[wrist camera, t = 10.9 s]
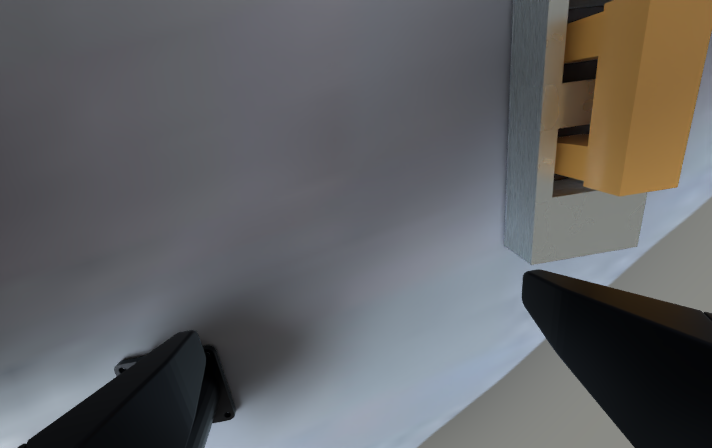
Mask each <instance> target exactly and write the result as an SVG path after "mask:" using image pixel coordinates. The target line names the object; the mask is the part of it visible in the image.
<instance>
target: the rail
mask: <svg viewBox="0 0 712 448" xmlns="http://www.w3.org/2000/svg"><path fill="white" fill-rule="evenodd" d="M610 1H613V0H513V10H512V38H511V66H510V94H509V122H508V149H507V177H506V205H505V233H504V246H505V247H506V248H508V249H509V250H511V251H512V252H513V253H515V254H516V255H518V256H519V257H520V258H522V259H523V260H525V261H526V262H528V263H529V264H530V265H534V264H540V263H546V262H551V261H557V260H563V259H569V258H574V257H580V256H586V255H592V254H597V253H603V252H609V251H615V250H620V249H626V248H632V247H637V245H638V240H639V234H640V229H641V224H642V218H643V213H644V208H645V202H646V197H647V192H645V193H639V194H632V195H626V196H620V197H619V196H615V195H612V194H608V193H605V192H601V191H598V190H594V189H590V188H587V187H583V183H584V181H582V180H578V179H574V178H571V179H565V180H558V181H554V170H555V159H556V147H557V135H558V129H559V128H566V127H573V126H580V125H587V124H590V123H591V115H592V106H593V98H594V89H595V81H596V79H588V80H580V81H573V82H565V83H562V77H563V66H564V54H565V42H566V31H567V19H568V9H575V8H584V7H593V6H602V5H604V4H605V3H608V2H610Z"/></svg>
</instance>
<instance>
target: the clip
mask: <svg viewBox="0 0 712 448" xmlns="http://www.w3.org/2000/svg"><path fill="white" fill-rule="evenodd" d="M711 31H712V0H613V1H610V2H608V3H605V4H604V11H603V12H600V13H597V14H594V15H592V16H589V17H586V18H583V19H580V20H577V21H574V22H571V23H568V24H567V31H566V42H565V54H564V64H567V63H575V62H583V61H591V60H596V59H598V64H597V72H596V81H595V89H594V98H593V106H592V115H591V123H590V132H589V134H576V135H569V136H562V137H557V147H556V159H555V170H554V173H555V174H559V175H563V176H566V177H570V178H574V179H578V180H582V181H584V183H583V187H587V188H590V189H594V190H598V191H601V192H605V193H608V194H612V195H615V196H619V197H620V196H626V195H632V194H639V193H645V192H651V191H657V190H663V189H670V188H676V187H678V183H679V178H680V173H681V169H682V164H683V160H684V155H685V150H686V146H687V141H688V137H689V132H690V128H691V123H692V118H693V114H694V109H695V105H696V100H697V95H698V91H699V86H700V82H701V77H702V73H703V68H704V63H705V59H706V54H707V50H708V45H709V41H710V36H711Z"/></svg>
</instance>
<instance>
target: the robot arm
mask: <svg viewBox="0 0 712 448" xmlns="http://www.w3.org/2000/svg"><path fill="white" fill-rule="evenodd" d="M522 301H523V304H524V306H525V308H526V309H527V311H528V312H529V314H530V315H531V317H532V318H533V320H534V321H535V323H536V324H537V326H538V327H539V328H540V330H541V331H542V333H543V334H544V336H545V337H546V339H547V340H548V342H549V343H550V345H551V346H552V347H553V349H554V350H555V351H556V353H557V354H558V355H559V357H560V358H561V359H562V360H563V362H564V363H565V364H566V365H567V366H568V368H569V369H570V370H571V371H572V373H573V374H574V375H575V376H576V377H577V379H578V380H579V381H580V382H581V383H582V385H583V386H584V387H585V388H586V389H587V391H588V392H589V393H590V394H591V395H592V397H593V398H594V399H595V400H596V402H597V403H598V404H599V405H600V406H601V408H602V409H603V410H604V411H605V412H606V414H607V415H608V416H609V417H610V418H611V420H612V421H613V422H614V423H615V424H616V426H617V427H618V428H619V429H620V430H621V432H622V433H623V434H624V435H625V437H626V438H627V439H628V440H629V441H630V443H631V444H632V445H633V446H634V447H635V448H712V313H708V312H704V313H703V312H702V311H700V310H696V309H692V308H688V307H685V306H680V305H677V304H673V303H669V302H665V301H661V300H657V299H653V298H649V297H645V296H642V295H638V294H634V293H630V292H626V291H622V290H618V289H614V288H611V287H607V286H603V285H599V284H595V283H591V282H587V281H583V280H579V279H575V278H572V277H568V276H564V275H560V274H556V273H552V272H548V271H544V270H532V271H527V272H525V273H524V275H523V284H522ZM205 352H208V353H210V354H206V353H205ZM123 368H125V369H123ZM114 371H115V374H116V376H117V377H116V378H114V379H113V380H111V381H110V382H109V383H107V384H106V385H105V386H103V387H102V388H100V389H99V390H98V391H96V392H95V393H93V394H92V395H91V396H89V397H88V398H86V399H85V400H84V401H82V402H81V403H79V404H78V405H77V406H75V407H74V408H72V409H71V410H70V411H68V412H67V413H65V414H64V415H63V416H61V417H60V418H59V419H57V420H56V421H54V422H53V423H52V424H50V425H49V426H47V427H46V428H45V429H43V430H42V431H40V432H39V433H38V434H36V435H35V436H33V437H32V438H31V439H29V440H28V442H27V444H22V445H21V446H19V447H18V448H204V447H205V444H206V441H207V438H208V435H209V432H210V429H211V425H212V423H216V422H222V421H227V420H231V419H232V418H234V416H235V412H236V409H235V406H234V403H233V400H232V397H231V394H230V391H229V388H228V385H227V382H226V379H225V375H224V372H223V369H222V366H221V363H220V360H219V357H218V354H217V351H216V349H215V348H214V347H213V346H210V345H206V346H202V344H201V341H200V338H199V335H198V333H197V332H196V331H194V330H190V331H184V332H179V333H177V334H176V335H174V336H173V337H171V338H170V339H169V340H167V341H166V342H164V343H163V344H162V345H160V346H159V347H157V348H156V349H155V350H153V351H152V352H151V353H149V354H148V355H146V356H142V357H139V358H134V359H128V360H123V361H120V362H119V363H118V364H117V366H116V367H115V369H114ZM227 412H229V413H227Z"/></svg>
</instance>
